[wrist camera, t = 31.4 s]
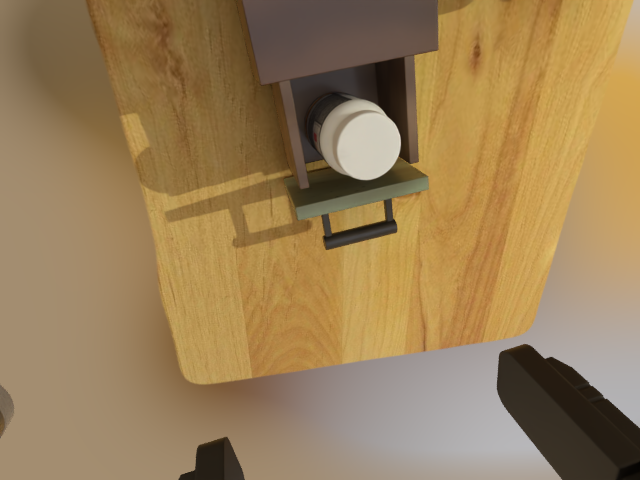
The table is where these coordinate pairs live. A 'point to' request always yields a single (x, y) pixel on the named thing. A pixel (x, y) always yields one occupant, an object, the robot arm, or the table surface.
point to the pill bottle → (352, 135)
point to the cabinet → (333, 34)
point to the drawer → (329, 185)
